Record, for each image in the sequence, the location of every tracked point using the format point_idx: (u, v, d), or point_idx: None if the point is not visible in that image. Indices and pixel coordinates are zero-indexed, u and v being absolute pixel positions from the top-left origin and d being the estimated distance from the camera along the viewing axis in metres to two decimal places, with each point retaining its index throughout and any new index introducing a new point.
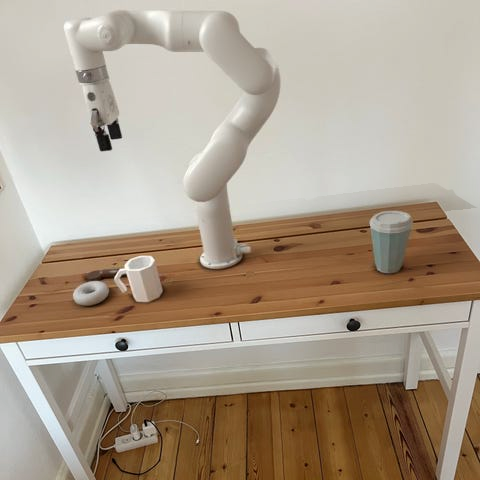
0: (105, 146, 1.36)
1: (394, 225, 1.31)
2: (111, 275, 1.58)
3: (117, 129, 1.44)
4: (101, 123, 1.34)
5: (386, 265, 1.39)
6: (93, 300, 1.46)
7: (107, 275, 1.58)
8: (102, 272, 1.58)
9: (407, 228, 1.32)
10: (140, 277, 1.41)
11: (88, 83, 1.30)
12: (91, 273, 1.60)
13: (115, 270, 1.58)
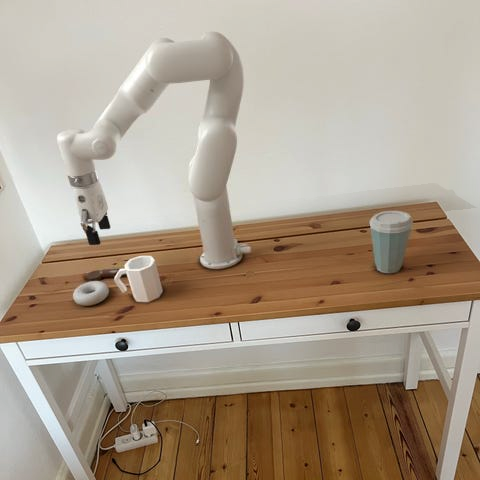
0: (94, 241, 1.47)
1: (394, 225, 1.31)
2: (111, 275, 1.58)
3: (106, 221, 1.54)
4: (90, 221, 1.45)
5: (386, 265, 1.39)
6: (93, 300, 1.46)
7: (107, 275, 1.58)
8: (102, 272, 1.58)
9: (407, 228, 1.32)
10: (140, 277, 1.41)
11: (79, 187, 1.40)
12: (91, 273, 1.60)
13: (115, 270, 1.58)
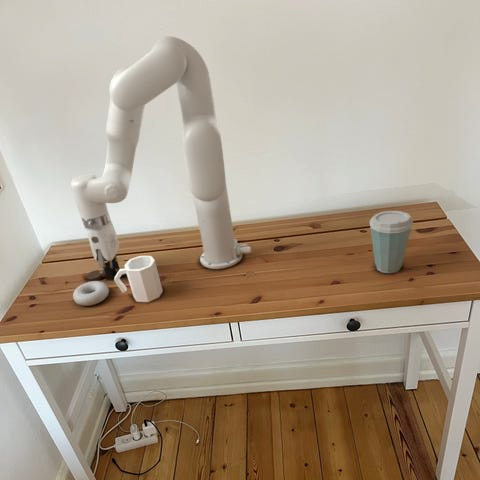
0: (111, 276, 1.57)
1: (394, 225, 1.31)
2: None
3: (116, 266, 1.59)
4: (103, 260, 1.51)
5: (386, 265, 1.39)
6: (93, 300, 1.46)
7: None
8: (102, 272, 1.58)
9: (407, 228, 1.32)
10: (140, 277, 1.41)
11: (92, 228, 1.47)
12: (91, 273, 1.60)
13: None
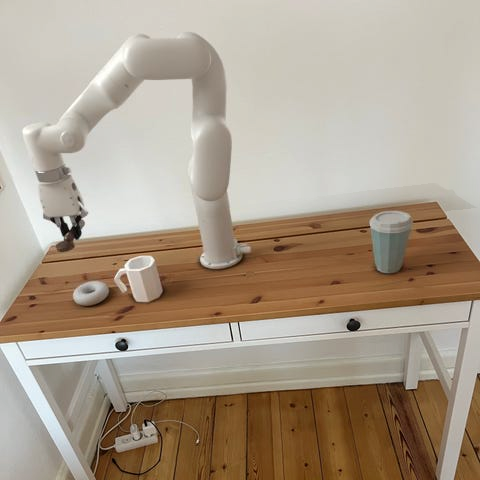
0: (81, 232, 1.47)
1: (394, 225, 1.31)
2: None
3: (68, 228, 1.48)
4: None
5: (386, 265, 1.39)
6: (93, 300, 1.46)
7: None
8: (70, 235, 1.45)
9: (407, 228, 1.32)
10: (140, 277, 1.41)
11: (66, 176, 1.38)
12: (60, 246, 1.42)
13: None
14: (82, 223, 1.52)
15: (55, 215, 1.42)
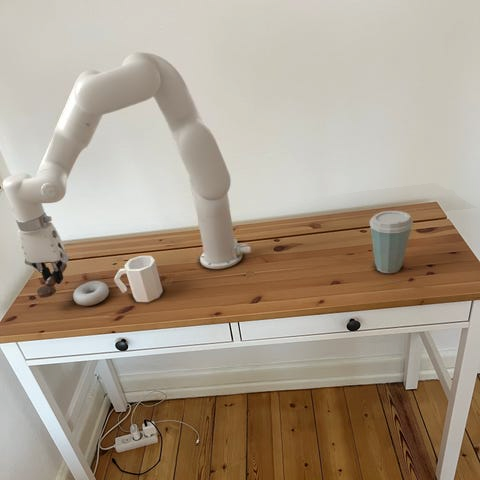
0: (62, 276, 1.50)
1: (394, 225, 1.31)
2: None
3: (49, 272, 1.51)
4: None
5: (386, 265, 1.39)
6: (93, 300, 1.46)
7: (55, 280, 1.49)
8: (51, 280, 1.47)
9: (407, 228, 1.32)
10: (140, 277, 1.41)
11: (46, 225, 1.40)
12: (42, 291, 1.45)
13: None
14: (64, 266, 1.55)
15: (36, 261, 1.45)
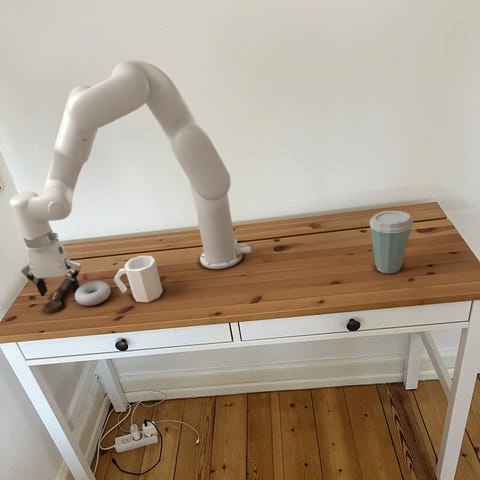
0: (78, 286, 1.52)
1: (394, 225, 1.31)
2: (63, 294, 1.53)
3: (44, 284, 1.53)
4: (68, 269, 1.49)
5: (386, 265, 1.39)
6: (95, 300, 1.46)
7: (62, 296, 1.52)
8: (58, 296, 1.50)
9: (407, 228, 1.32)
10: (140, 277, 1.41)
11: (53, 241, 1.43)
12: (48, 307, 1.48)
13: (62, 287, 1.53)
14: None
15: (43, 276, 1.48)
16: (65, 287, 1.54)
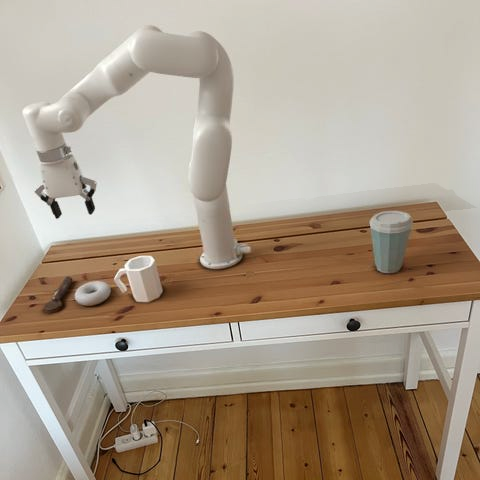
0: (94, 207, 1.47)
1: (394, 225, 1.31)
2: (63, 294, 1.53)
3: (58, 206, 1.48)
4: (83, 188, 1.44)
5: (386, 265, 1.39)
6: (95, 300, 1.46)
7: (62, 296, 1.52)
8: (58, 296, 1.50)
9: (407, 228, 1.32)
10: (140, 277, 1.41)
11: (67, 156, 1.38)
12: (48, 307, 1.48)
13: (62, 287, 1.53)
14: (70, 281, 1.57)
15: (58, 196, 1.43)
16: (65, 287, 1.54)
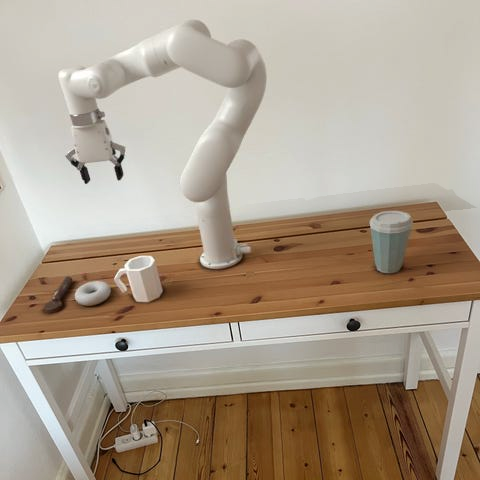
0: (122, 173, 1.50)
1: (394, 225, 1.31)
2: (63, 294, 1.53)
3: (87, 172, 1.51)
4: (113, 154, 1.47)
5: (386, 265, 1.39)
6: (95, 300, 1.46)
7: (62, 296, 1.52)
8: (58, 296, 1.50)
9: (407, 228, 1.32)
10: (140, 277, 1.41)
11: (99, 121, 1.41)
12: (48, 307, 1.48)
13: (62, 287, 1.53)
14: (70, 281, 1.57)
15: (88, 160, 1.46)
16: (65, 287, 1.54)
